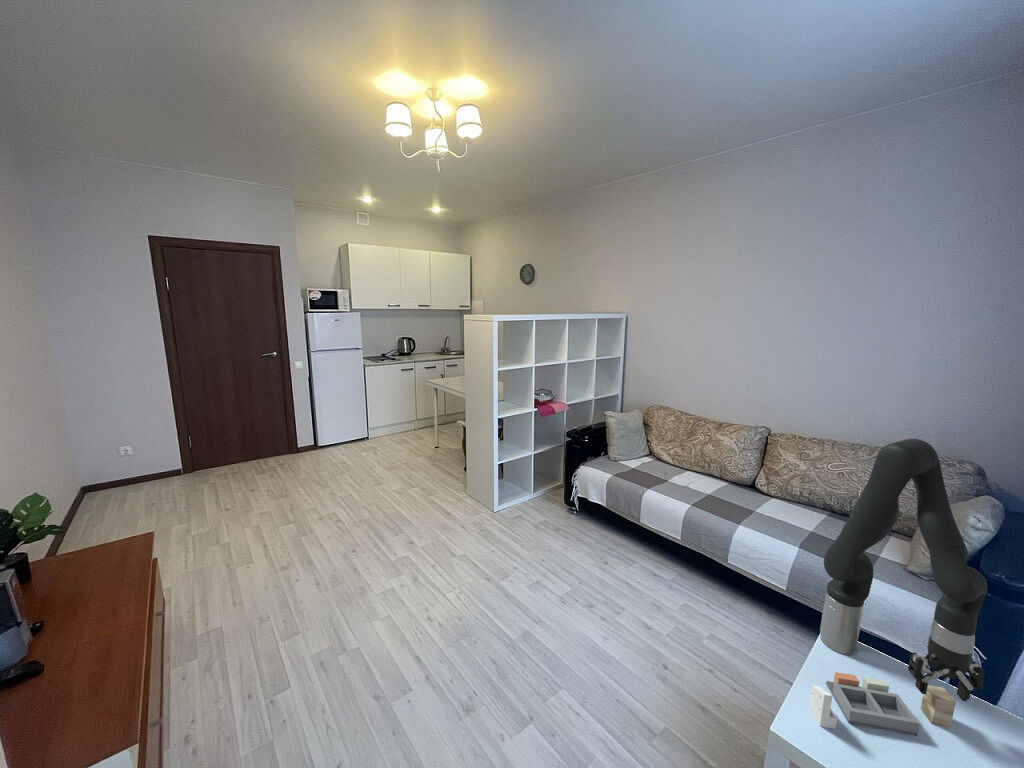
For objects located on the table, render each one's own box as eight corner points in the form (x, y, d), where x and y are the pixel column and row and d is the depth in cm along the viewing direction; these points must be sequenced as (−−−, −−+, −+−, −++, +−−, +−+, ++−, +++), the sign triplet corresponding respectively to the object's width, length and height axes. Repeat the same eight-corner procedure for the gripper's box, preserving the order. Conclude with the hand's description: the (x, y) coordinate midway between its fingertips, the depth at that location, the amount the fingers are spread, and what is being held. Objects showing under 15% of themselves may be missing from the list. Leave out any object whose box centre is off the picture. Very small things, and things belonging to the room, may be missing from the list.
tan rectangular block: (920, 709, 108) (925, 684, 107) (938, 712, 107) (943, 687, 106) (931, 723, 104) (937, 698, 103) (950, 727, 103) (956, 702, 102)
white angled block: (830, 735, 100) (824, 694, 102) (810, 717, 109) (805, 680, 112) (846, 738, 99) (840, 697, 102) (825, 720, 108) (819, 682, 111)
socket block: (825, 683, 116) (828, 669, 115) (886, 694, 112) (889, 679, 111) (848, 723, 105) (851, 707, 104) (916, 736, 101) (920, 720, 100)
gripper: (973, 634, 103) (963, 687, 105) (906, 625, 106) (898, 676, 109) (1000, 658, 96) (988, 714, 98) (927, 647, 99) (918, 702, 102)
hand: (941, 694), depth 104 cm, fingers open, 8 cm apart
